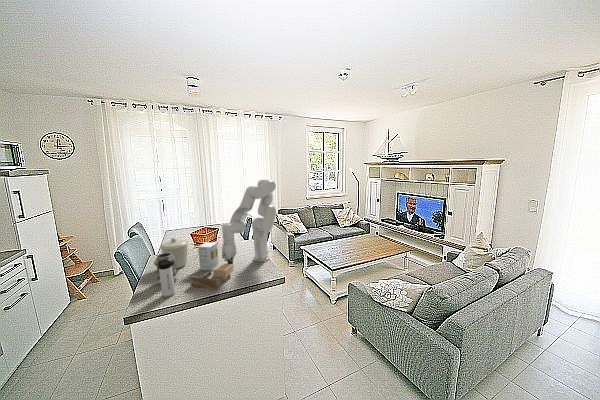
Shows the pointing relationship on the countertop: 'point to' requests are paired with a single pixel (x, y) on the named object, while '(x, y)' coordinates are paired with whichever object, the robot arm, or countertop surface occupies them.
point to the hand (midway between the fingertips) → (230, 266)
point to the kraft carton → (223, 270)
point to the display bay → (207, 281)
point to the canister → (176, 250)
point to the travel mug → (166, 278)
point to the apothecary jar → (166, 257)
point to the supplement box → (208, 256)
